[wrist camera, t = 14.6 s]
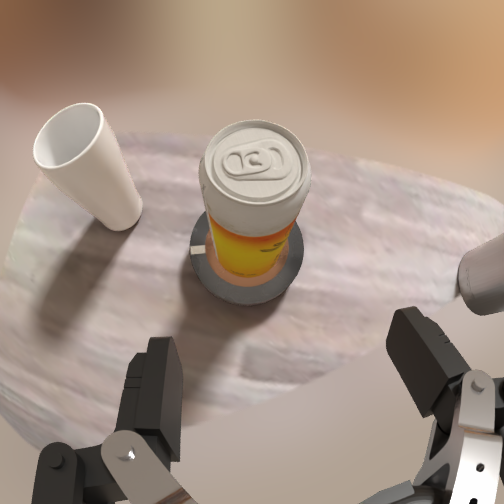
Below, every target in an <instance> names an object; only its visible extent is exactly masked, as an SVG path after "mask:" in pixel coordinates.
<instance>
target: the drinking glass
mask: <svg viewBox="0 0 504 504" xmlns="http://www.w3.org/2000/svg"><path fill="white" fill-rule="evenodd" d="M33 159H34V161H35V163H36V165H37V166H38V167H39V168H40V170H41V171H42V172H43V173H44V175H45V176H46V177H47V178H48V179H49V180H50V181H51V182H52V183H53V184H54V185H55V186H56V187H57V188H58V189H59V190H60V191H61V192H62V193H64V194H65V195H66V196H67V197H69V198H70V199H71V200H73V201H74V202H75V203H77V204H78V205H79V206H81V207H82V208H83V209H85V210H86V211H87V212H89V213H90V214H91V215H93V216H94V217H95V218H97V219H98V220H99V221H101V222H102V223H103V224H104V225H105V226H106V227H107V228H109V229H111V230H114V231H123V230H126V229H128V228H130V227H132V226H133V225H134V224H135V223H136V222H137V221H138V219H139V218H140V216H141V213H142V209H143V204H142V199H141V197H140V195H139V193H138V192H137V190H136V187H135V185H134V182H133V180H132V177H131V175H130V172H129V170H128V167H127V165H126V162H125V159H124V156H123V154H122V151H121V148H120V146H119V143H118V141H117V139H116V137H115V135H114V133H113V131H112V129H111V127H110V125H109V123H108V121H107V120H106V118H105V116H104V115H103V113H102V111H101V110H100V109H99V107H97V106H96V105H93V104H90V103H79V104H75V105H72V106H69V107H67V108H64V109H63V110H61V111H59V112H58V113H56V114H55V115H54V116H53V117H52V118H50V119H49V120H48V121H47V122H46V124H45V125H44V126H43V127H42V129H41V130H40V132H39V133H38V135H37V137H36V140H35V142H34V146H33Z"/></svg>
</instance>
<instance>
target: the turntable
mask: <svg viewBox="0 0 504 504" xmlns="http://www.w3.org/2000/svg"><path fill="white" fill-rule="evenodd" d="M303 254H304V245H303V238H302V234H301V231H300V229H299V226H298V225H297V223H296V221H295V223H294V225H293V227H292V229H291V231H290V234H289V236H288V238H287V240H286V242H285V245H284V247H283V249H282V251H281V253H280V255H279V258H278V260H277V262H276V263H275V265H274V266H273V267H272V268H271V269H270V270H269V271H268V272H266V273H265V274H263V275H260V276H257V277H253V278H243V277H238V276H235V275H233V274H231V273H229V272H228V271H227V270H225V269H224V268H223V267H222V265H221V264H220V263H219V261H218V259H217V257H216V253H215V249H214V245H213V240H212V236H211V232H210V227H209V223H208V218H207V214H206V211H205V212H204V213H203V214H202V215H201V216H200V218H199V219H198V221H197V223H196V224H195V227H194V229H193V232H192V235H191V240H190V257H191V261H192V265H193V267H194V270H195V272H196V274H197V276H198V277H199V279H200V281H201V282H202V284H203V285H204V286H205V287H206V289H208V290H209V291H210V292H211V293H212V294H213V295H215V296H216V297H218V298H219V299H221V300H223V301H226V302H228V303H231V304H235V305H243V306H250V305H258V304H262V303H265V302H268V301H270V300H272V299H274V298H275V297H277V296H279V295H280V294H281V293H282V292H283V291H285V289H286V288H287V287H288V286H289V285H290V284H291V283H292V282H293V280H294V279H295V277H296V276H297V274H298V272H299V270H300V267H301V264H302V260H303Z"/></svg>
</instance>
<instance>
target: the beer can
mask: <svg viewBox="0 0 504 504" xmlns="http://www.w3.org/2000/svg"><path fill="white" fill-rule="evenodd" d="M199 182H200V186H201V191H202V196H203V200H204V205H205V209H206V214H207V218H208V223H209V227H210V232H211V236H212V240H213V245H214V249H215V253H216V257H217V259H218V261H219V263H220V264H221V265H222V267H223V268H224V269H225V270H227V271H228V272H229V273H231V274H233V275H235V276H238V277H243V278H253V277H257V276H260V275H263V274H265V273H266V272H268V271H269V270H270V269H271V268H272V267H273V266H274V265H275V263H276V262H277V260H278V258H279V255H280V253H281V251H282V249H283V247H284V245H285V242H286V240H287V238H288V236H289V234H290V231H291V229H292V227H293V225H294V223H295V220H296V218H297V216H298V214H299V212H300V209H301V207H302V205H303V203H304V201H305V198H306V196H307V194H308V192H309V189H310V185H311V168H310V164H309V161H308V157H307V153H306V150H305V148H304V146H303V144H302V143H301V142H300V140H299V139H298V138H297V137H296V136H295V135H294V134H293V133H292V132H290V131H289V130H287V129H286V128H284V127H283V126H280V125H278V124H275V123H273V122H268V121H263V120H245V121H240V122H237V123H233V124H231V125H229V126H227V127H225V128H223V129H222V130H221V131H219V132H218V133H217V134H216V135H215V136H214V137H213V138H212V140H211V141H210V142H209V144H208V146H207V149H206V151H205V152H204V154H203V156H202V158H201V161H200V165H199Z"/></svg>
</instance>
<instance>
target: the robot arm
mask: <svg viewBox="0 0 504 504" xmlns="http://www.w3.org/2000/svg"><path fill="white" fill-rule="evenodd" d="M458 280H459V288H460V292H461V295H462V297H463V300H464V302H465V304H466V305H467V307H468V308H469V309H470V310H471V311H472V312H474V313H475V314H477V315H480V316H481V315H489V314H493V313H498V312H502V311H504V233H503V234H501V235H499V236H498V237H496V238H494V239H492V240H490V241H488V242H486V243H484V244H482V245H480V246H478V247H477V248H475V249H473V250H471V251H469V252H467V253H466V254H465V255H464V257H463V259H462V260H461V263H460V267H459V276H458ZM386 349H387V352H388V355H389V356H390V358H391V360H392V362H393V364H394V365H395V367H396V369H397V371H398V372H399V374H400V376H401V378H402V380H403V382H404V383H405V385H406V387H407V389H408V391H409V393H410V394H411V396H412V398H413V400H414V402H415V404H416V406H417V408H418V410H419V412H420V413H421V415H422V417H423V418H425V417H428V416H430V415H432V414H434V416H435V420H434V422H433V425H432V430H431V434H430V439H429V443H428V447H427V451H426V455H425V459H424V462H423V465H422V467H421V469H420V471H419V472H418V474H417V475H416V477H415V479H414V482H413V485H412V484H411V482H410V480H408V481H406V482H403V483H401V484H398V485H396V486H393V487H391V488H387V489H385V490H382V491H379V492H378V493H376V494H374V495H373V496H371V497H370V498H368V499H366V500H364V501H363V502H361V503H359V504H494V502H495V497H496V491H497V486H498V479H499V475H500V477H501V480H502V482H503V485H504V377H503V378H494V379H492V378H491V377H490V376H489V375H488V374H487V373H485V372H483V371H480V370H471V369H470V367H469V366H468V364H467V363H466V361H465V360H464V359H463V357H462V356H461V354H460V353H459V352H458V350H457V349H456V348H455V346H454V345H453V344H452V343H450V340H449V338H448V337H447V336H446V335H445V333H444V332H443V330H442V329H441V328H440V327H439V325H438V324H437V323H435V322H434V321H432V320H431V319H429V318H428V317H424V316H423V314H422V313H421V312H420V311H419V309H418V308H417V307H415V306H412V307H407V308H402V309H398V310H396V311H395V313H394V316H393V319H392V323H391V326H390V329H389V332H388V336H387V339H386ZM182 389H183V373H182V367H181V363H180V360H179V357H178V353H177V350H176V346H175V343H174V340H173V337H172V336H170V337H151V338H150V339H149V343H148V348H147V353H137V354H136V355H135V356H134V358H133V359H132V360H131V362H130V363H129V366H128V370H127V374H126V379H125V383H124V390H123V393H122V397H121V402H120V407H119V413H118V418H117V423H116V428H115V430H114V432H113V433H112V434H111V435H109V436H108V437H107V438H106V439H105V440H104V442H103V443H102V444H100V445H97V446H93V447H88V448H82V449H76V450H73V449H72V448H71V447H70V446H69V445H67V444H65V443H61V442H54V443H51V444H49V445H47V446H46V447H45V448H44V449H43V450H42V451H41V453H40V456H39V460H38V465H37V470H36V476H35V482H34V489H33V495H32V503H31V504H115V502H117V501H122V500H129V501H130V503H131V504H198V503H197V502H196V501H195V500H194V499H193V498H192V497H191V496H190V495H189V494H188V493H187V492H186V491H185V489H183V487H182V486H181V485H180V484H179V483H178V482H177V480H176V479H175V478H174V477H173V476H172V475H171V474H170V462H180V435H181V409H182Z"/></svg>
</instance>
